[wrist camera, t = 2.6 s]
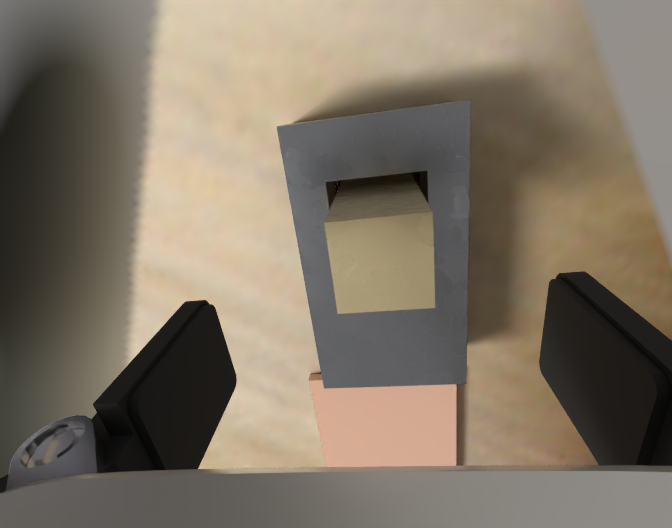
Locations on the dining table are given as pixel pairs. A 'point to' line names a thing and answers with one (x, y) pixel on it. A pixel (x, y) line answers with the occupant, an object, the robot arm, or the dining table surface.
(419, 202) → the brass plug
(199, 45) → the dining table surface
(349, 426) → the terracotta tile
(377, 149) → the grey block with hole
